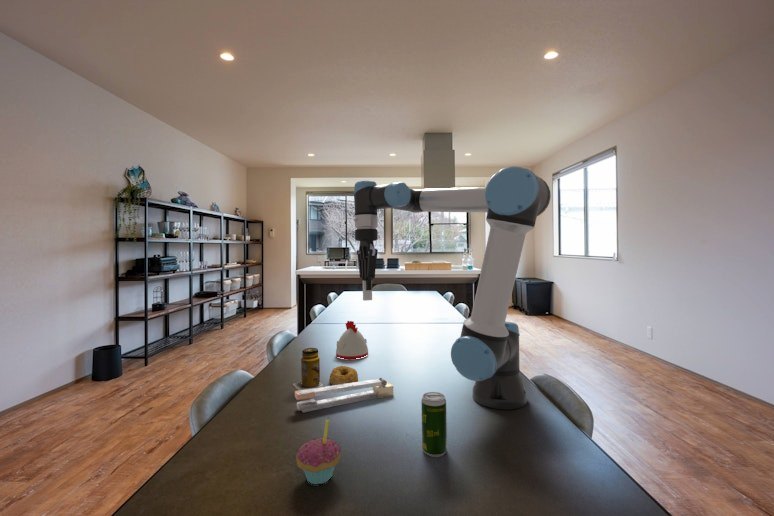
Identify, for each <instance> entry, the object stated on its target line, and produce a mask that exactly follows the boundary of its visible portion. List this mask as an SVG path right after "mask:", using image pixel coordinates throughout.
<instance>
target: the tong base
mask: <svg viewBox="0 0 774 516" xmlns="http://www.w3.org/2000/svg"><path fill="white" fill-rule="evenodd" d="M392 396H394V385H393V384H391V383H390V381H387V385H385V386H384V385H383V384H382V386H376V387H372V390H371V389H370V390H367V391H366V390H365V391H361V392H355V393H351V394H345V395H341V396H335V397H330V398H325V399H320V400H319V399H318V400H315V398H310V399H305V400H301V401H300V400H299V401H297V402H296V408H297V410H298V412H300V411H301V412H302V413H308V412H312V411H313V412H314V411H319V410H322V409H323V410H324V409H328V408H332V407H337V406H343V405H348V404H352V403H358V402H362V401H367V400H373V399H383V398H389V397H392Z"/></svg>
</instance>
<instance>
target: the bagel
mask: <svg viewBox="0 0 774 516" xmlns="http://www.w3.org/2000/svg"><path fill="white" fill-rule="evenodd" d="M358 376H359V374H358V371H357V370H356V369H355V368H353V367H350V366H347V365H339V366H336V367H334V368H332V369H331V372H330V374H329V380H328V381H329V384H331V385H332V386H333V385H340V384H347V383H353V382H359V377H358Z"/></svg>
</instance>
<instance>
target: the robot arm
mask: <svg viewBox="0 0 774 516" xmlns="http://www.w3.org/2000/svg"><path fill="white" fill-rule="evenodd" d="M353 187H354V188H353V190H354V191H353V200H354V218H353V221H354V228H355V230H354V240H355V241H357V242H359V246H358V249H357V250H356V256H357V263H358V270H359V279H361V280H362V301H373V280H374V279H375V277H376V267H377V256H378V253H379V252H378V251H379V250H378V249H377V248H375V243H374V242H375V241H377V240H378V239H379V237H378V235H379V234H378V233H379V232H378V229H377V228H378V227H379V224H378V218H379V217H378V210H385V209H393V210H399V211H406V212H410V213H416V214H417V213H426V212H427V213H428V212H429V213H433V212H434V213H435V212H437V213H486V216H485V217H486V218H485V220H486V222H487V223H488V225H489V233H488V237H487V243H486V246H485V250H484V251H485V252H484V255H483V261H482V263H481V264H482V265H481V269H480V274H479V278H478V283H477V288H476V293H475V296H474V301H473V306H472V309H471V313H470V314H471V316H469V317H468V318H466V319H464V321H463V322H462V323H463V324H462V328H461V332H460V333H461V334H460V336H459V337H458V338H457V339H456V340H455V341H454V343H453V344H452V346H451V348H450V357H451V358H450V359H451V361H452V364H453V366H454V368H455V370H456V371H457V372H458V373H459V374H460V375H461V376H462V377H464V378H466V380H470V381H473V382H474V385H473V387H472V399H473V400H474V401H475V402H476V403H478V404H479V405H482V406H484V407H487V408H490V409H497V410H517V409H520V408H522V407H523V408H524V406H526V405H527V403H528V401H527V400H528V399H527V392H526V390H525V388H524V384H523V380H522V377H521V374H520V335H521V334H520V331H519V330H520V328H519V325H518V324H517V323H516V322H511V321H506V320H507V315H508V312H509V307H510V302H511V298H512V295H513V291H514V285H515V282H516V281H515V280H516V277H517V272H518V269H519V264H520V262H521V261H520V260H521V257H522V252H523V249H524V244H525V240H526V236H527V233H529V232H530V231H532V230H533V229H535V225H536V222H537V218H538V216H540V215H542V214H543V213H544V212H545V211H546V210H547V208H548V207H549V206H550V205H549V204H550V201H551V196H552V195H551V190H550V186H549V185H548V184H547V182H546V181H545V180H544V179H543V178H542V177H539V175H536V174H535V173H534V172H533V171H532V170H530V169H528V168H525V167H521V166H514V165H513V166H508V167H504V168H501V169H499V170H497V172H495V173H494V174H493V175H492V176H491V177H490V178H489V181H488V182H487V184H486V186H475V187H473V186H472V187H450V188H448V187H446V188H441V187H440V188H420V189H419V188H417V189H414V188H410V187H409V186H408V185H407V183H405V182H402V181H397V182H395V181H393V182H390V183H387V184H385V183H384V184H380V185H379V184H378V185H377V182H375V181H374V180H359V181H357V182H355V183H354V186H353Z"/></svg>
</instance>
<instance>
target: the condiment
mask: <svg viewBox="0 0 774 516" xmlns="http://www.w3.org/2000/svg"><path fill="white" fill-rule="evenodd" d="M301 354H302V357H301V359H300V363H301V364H300V365H301V367H300V368H301V370H300V371H301V381H300V382H296V383H292V386H293V387H295V389H296V390H297V391H299V390H305V389H314V388H320V387H325V384H323V383H322V382H321V380H320V379H321V375H320V374H321V372H320V371H321V370H320V361H321V360H320V356H319V350H318V348H317V347H307V348H304V349H303V350H302V351H301ZM319 382H320V383H319ZM301 383H302V384H301ZM320 384H321V385H320ZM319 385H320V386H319Z"/></svg>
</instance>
